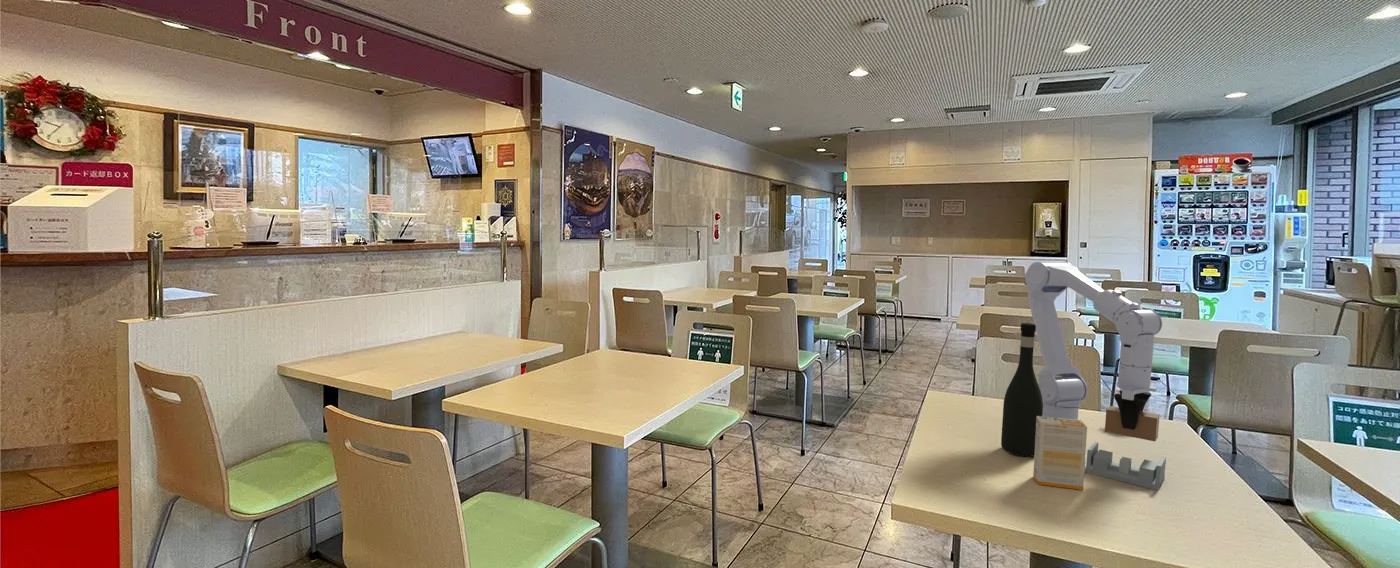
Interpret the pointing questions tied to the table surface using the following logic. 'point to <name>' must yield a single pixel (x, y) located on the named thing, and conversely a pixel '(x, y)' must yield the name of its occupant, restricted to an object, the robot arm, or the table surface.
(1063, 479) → the supplement box
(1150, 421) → the brown rectangular block
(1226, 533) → the table surface
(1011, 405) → the wine bottle
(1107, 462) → the display stand
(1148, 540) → the table surface
